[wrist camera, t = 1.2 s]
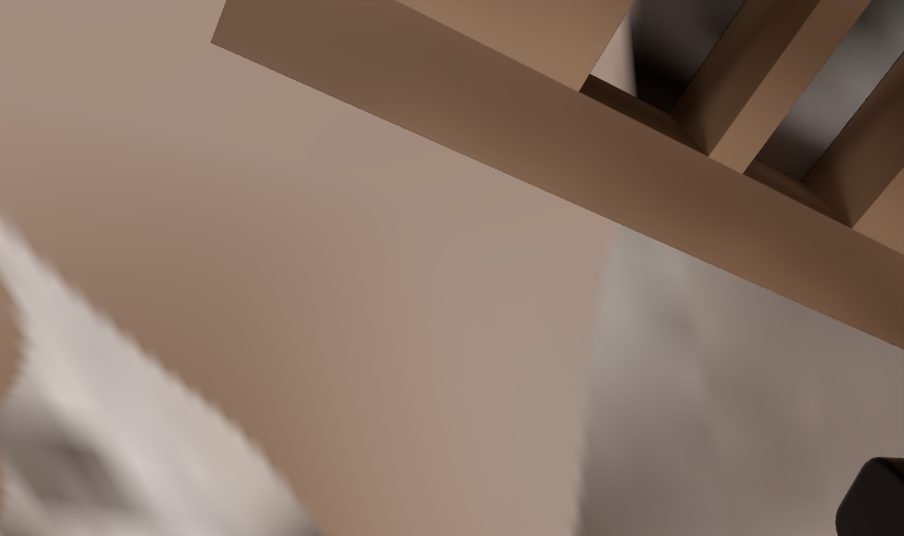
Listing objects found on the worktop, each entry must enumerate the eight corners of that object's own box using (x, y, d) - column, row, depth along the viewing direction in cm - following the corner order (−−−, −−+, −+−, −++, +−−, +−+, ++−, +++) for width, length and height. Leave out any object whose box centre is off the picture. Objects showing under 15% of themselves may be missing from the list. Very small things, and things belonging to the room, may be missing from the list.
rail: (920, 328, 25) (974, 380, 23) (223, 7, 18) (210, 42, 16) (1196, 36, 21) (1292, 67, 19) (439, -550, 14) (459, -603, 11)
